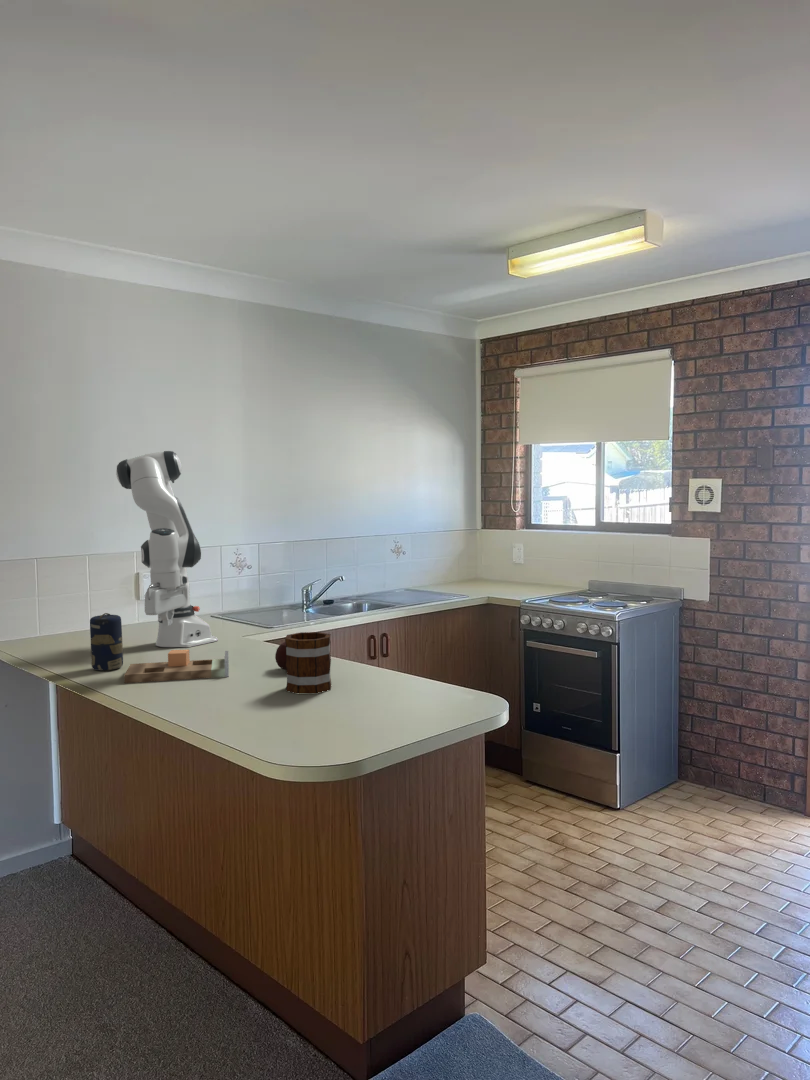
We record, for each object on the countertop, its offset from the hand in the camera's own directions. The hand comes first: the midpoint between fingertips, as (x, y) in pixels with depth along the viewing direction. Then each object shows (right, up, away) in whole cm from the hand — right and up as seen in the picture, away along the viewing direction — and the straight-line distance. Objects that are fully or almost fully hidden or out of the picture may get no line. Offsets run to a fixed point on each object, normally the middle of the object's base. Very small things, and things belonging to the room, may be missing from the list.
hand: (167, 625), depth 246 cm
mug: (+48, -16, -18) cm, 54 cm away
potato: (+38, -15, +1) cm, 41 cm away
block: (+3, -12, 0) cm, 13 cm away
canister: (-21, -15, +6) cm, 27 cm away
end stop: (+18, -15, +1) cm, 23 cm away
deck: (+4, -15, -2) cm, 16 cm away
